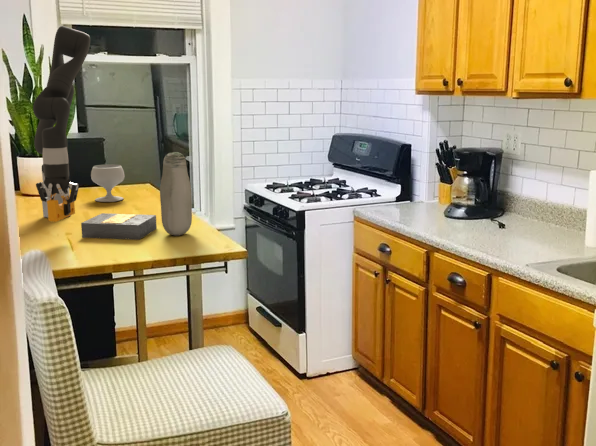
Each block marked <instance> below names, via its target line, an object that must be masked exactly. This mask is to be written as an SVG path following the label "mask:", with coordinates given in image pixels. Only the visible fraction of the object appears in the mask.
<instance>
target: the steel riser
mask: <svg viewBox="0 0 596 446" xmlns="http://www.w3.org/2000/svg"><path fill="white" fill-rule="evenodd" d="M80 225H81V237H82V238H83V239H85V238H86V239H103V240H104V239H107V240H108V239H109V240H111V239H112V240H136V241H137V240H138V241H140V240H141V238H142V239H143V238H144V237H146V236H148V235H149V234H151V233H153V232H154V231H156V230H157V229H158V228H157V215H156V214H133V213H132V214H131V213H129V214H128V213H106V212H105V213H99V214H97V215H95V216H93V217H91V218H89V219H87V220H85V221H82V222H80Z"/></svg>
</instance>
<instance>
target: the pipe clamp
mask: <svg viewBox="0 0 596 446" xmlns="http://www.w3.org/2000/svg"><path fill="white" fill-rule="evenodd" d="M69 197H70V194H69ZM63 204H64V202H63V203H61V204H59V203H58V200H48V201H47V207H48V218H47V219H48V222H53V223H54V222H55V223H57V222H59V221H61V220H63V219H65V218H68V217H71V216H72V215H74V214H76V207H75V206H76V205H75V201H74V202H71V203H70V207H71V212H70V213H69V215H67V216H65V215H64V206H63ZM70 215H71V216H70Z"/></svg>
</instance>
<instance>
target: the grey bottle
mask: <svg viewBox="0 0 596 446" xmlns="http://www.w3.org/2000/svg"><path fill="white" fill-rule="evenodd" d="M162 164H163V166H162V175H161V179H160V180H161V181H160V186H159V187H160V188H159V201H160V214H161V225H162V227H163V229H164V231H165V232H166V233H167V234H169V235H171V236H182V235H184V234H186V233H187V232H189V230H190V229H191V225H192V222H193V214H192V213H193V208H192V207H193V206H192V201H193V200H192V186H191V185H192V184H191V180H190V177H189V174H188V168H187V160H186V157H185V156H184V154H183V153H181V152H178V151H173V152H172V151H171V152H168V153H167V154H165V156H164V158H163V162H162Z"/></svg>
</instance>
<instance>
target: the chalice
mask: <svg viewBox="0 0 596 446" xmlns="http://www.w3.org/2000/svg"><path fill="white" fill-rule="evenodd" d="M125 176H126V175H125V170H124V169H123V167H122V165H121V164H116V163H113V164H110V163H109V164H96V165H93V166H92V169H91V171H90V177H91V181H92V182H93V183H95V184H97V185H98V186H100V187H101V188H104V189H105V191H106V195H105V196H100V197H97V198H95V199H94V201H95V202H98V203H112V202H119V201H123V200H124V199H125V198H124V197H122V196H117V195H115V196H114V195H113V194H112V190H113V189H114V188H115V187H116V186H117V185H119V184H120V183H122V182H123V181H124V180H125Z"/></svg>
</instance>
